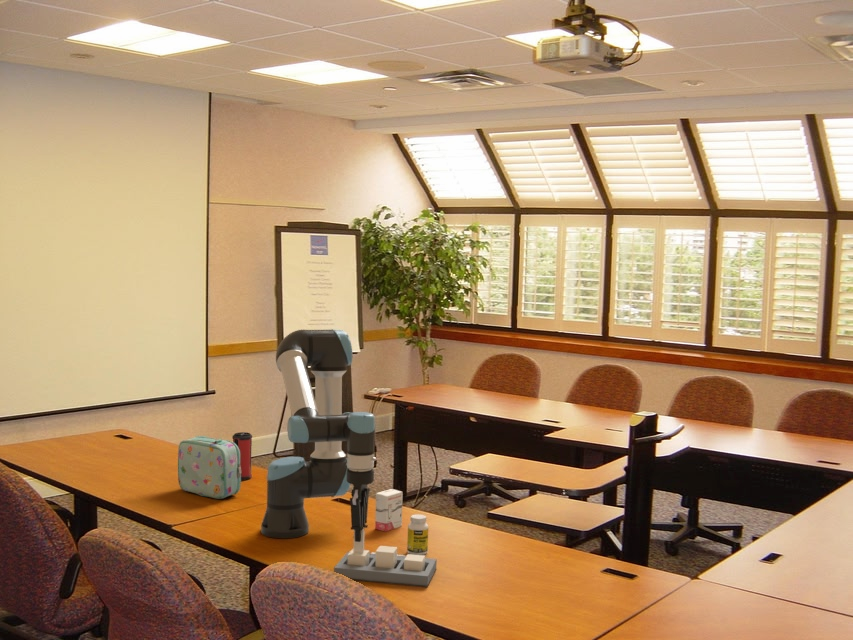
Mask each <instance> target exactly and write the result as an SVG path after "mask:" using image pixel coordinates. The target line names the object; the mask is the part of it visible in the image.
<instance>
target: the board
mask: <svg viewBox="0 0 853 640" xmlns="http://www.w3.org/2000/svg"><path fill="white" fill-rule="evenodd" d="M349 552H350V551H349V550H348V551H347V552H346V553H345V554H344V556H343V557H342V558H341V559H340V560H339V561H338V563H337V564H335V566H334V568H333V573H334V572H336V573H339V574H342V575H344V576H346V577H348V578H350V579H353V580H352V581H357V582H359V581H360V582H367V583H369V582H370V583H376V584H377V583H379V584H389V585H398V586H399V585H402V586H409V587H410V586H412V587H422V588H428V587H429V585H430V583H431V581H432V579H433V577H434V575H435V573H436V571H437V559H436V558H430V557H429V558H427V557H425V571H416V570H405V569H404V559H405V558H406V556H397V564H396V565H395V567H394V568H383V567H375V564H376V554H372V552H371V553H369V565H368V566H360V565H349V564H347V561H348V554H349Z"/></svg>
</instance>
